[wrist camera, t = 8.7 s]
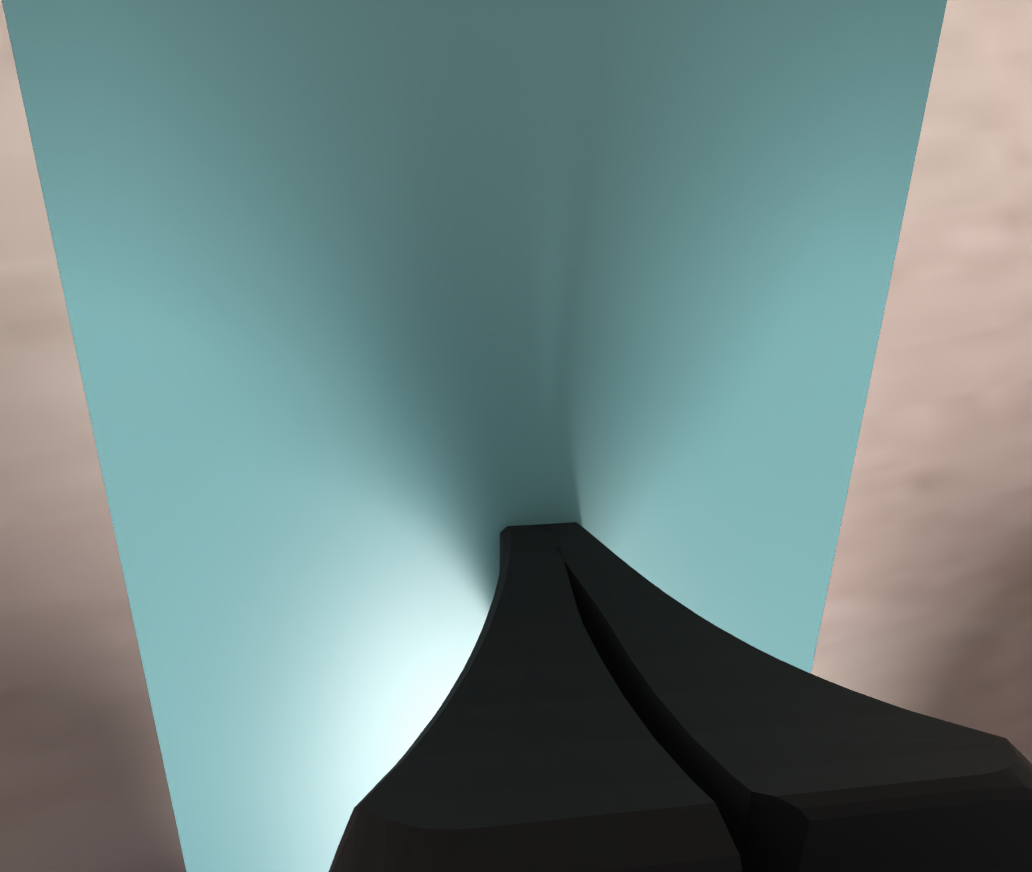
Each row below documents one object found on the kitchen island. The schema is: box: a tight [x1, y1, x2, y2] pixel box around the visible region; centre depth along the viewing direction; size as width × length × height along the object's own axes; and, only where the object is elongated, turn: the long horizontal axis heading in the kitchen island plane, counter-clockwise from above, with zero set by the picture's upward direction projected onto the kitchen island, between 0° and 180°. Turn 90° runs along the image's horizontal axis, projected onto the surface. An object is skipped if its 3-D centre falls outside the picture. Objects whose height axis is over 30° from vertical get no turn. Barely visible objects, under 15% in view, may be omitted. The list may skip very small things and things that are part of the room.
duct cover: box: [2, 0, 947, 872], centre depth 12 cm, size 18×11×1 cm, turn 179°
